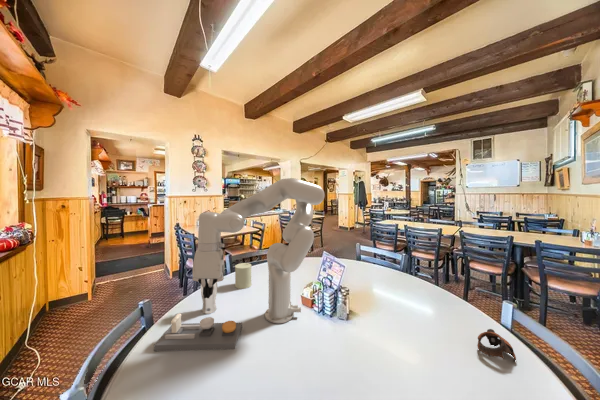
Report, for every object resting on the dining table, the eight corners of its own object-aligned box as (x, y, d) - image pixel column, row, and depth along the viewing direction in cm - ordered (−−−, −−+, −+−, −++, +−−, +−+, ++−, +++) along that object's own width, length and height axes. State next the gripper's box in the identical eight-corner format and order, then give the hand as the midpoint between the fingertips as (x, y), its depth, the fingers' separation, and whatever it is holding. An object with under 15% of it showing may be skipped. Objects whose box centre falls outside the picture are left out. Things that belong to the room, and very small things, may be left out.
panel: (242, 327, 88) (242, 319, 88) (234, 348, 76) (234, 339, 76) (172, 328, 87) (172, 320, 87) (154, 350, 75) (153, 341, 75)
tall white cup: (211, 315, 96) (211, 281, 96) (197, 313, 98) (197, 280, 97) (220, 307, 103) (220, 275, 102) (207, 305, 105) (206, 274, 104)
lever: (184, 328, 84) (184, 312, 84) (177, 337, 79) (176, 320, 78) (176, 328, 84) (175, 312, 83) (168, 337, 78) (168, 320, 78)
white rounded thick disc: (215, 323, 84) (215, 317, 84) (211, 331, 79) (211, 324, 79) (203, 324, 84) (202, 317, 84) (197, 332, 79) (197, 325, 79)
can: (255, 284, 128) (255, 264, 128) (243, 290, 121) (242, 268, 120) (243, 280, 133) (243, 261, 133) (231, 286, 125) (231, 265, 125)
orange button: (237, 327, 85) (237, 320, 84) (234, 335, 80) (234, 328, 80) (224, 327, 84) (224, 320, 84) (220, 335, 80) (220, 328, 79)
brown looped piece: (525, 372, 68) (513, 350, 68) (489, 373, 73) (478, 353, 72) (508, 339, 79) (497, 320, 78) (477, 342, 83) (467, 324, 83)
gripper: (232, 244, 84) (231, 292, 85) (192, 243, 83) (190, 291, 84) (227, 249, 77) (226, 301, 77) (183, 248, 76) (181, 301, 76)
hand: (207, 296), depth 81 cm, fingers closed
